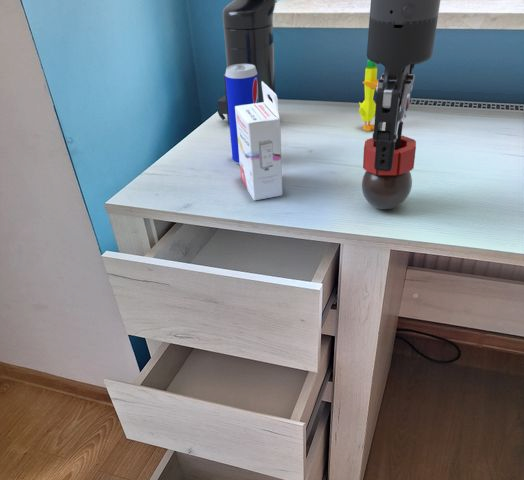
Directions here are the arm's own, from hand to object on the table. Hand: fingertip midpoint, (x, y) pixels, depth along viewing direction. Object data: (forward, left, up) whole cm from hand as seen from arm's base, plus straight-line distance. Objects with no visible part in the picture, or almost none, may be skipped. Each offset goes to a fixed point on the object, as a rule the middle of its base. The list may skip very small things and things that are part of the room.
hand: (387, 159), depth 69 cm
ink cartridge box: (-20, +5, -8) cm, 22 cm away
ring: (0, +3, -2) cm, 3 cm away
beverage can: (-26, +15, -8) cm, 31 cm away
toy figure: (-8, +35, -8) cm, 37 cm away
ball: (0, +3, -8) cm, 9 cm away
